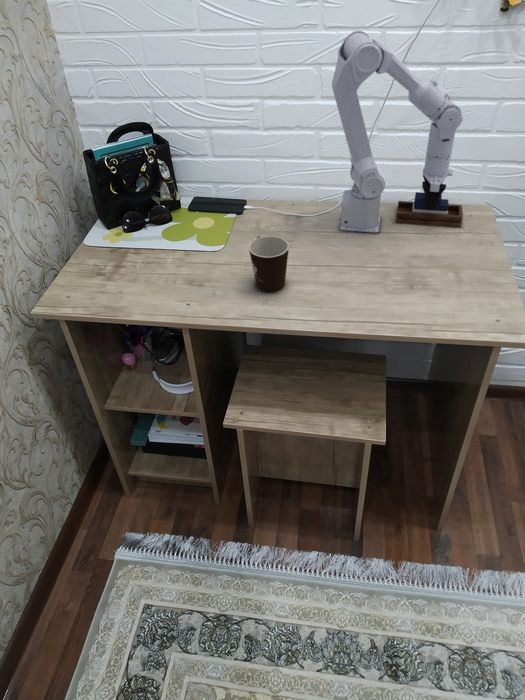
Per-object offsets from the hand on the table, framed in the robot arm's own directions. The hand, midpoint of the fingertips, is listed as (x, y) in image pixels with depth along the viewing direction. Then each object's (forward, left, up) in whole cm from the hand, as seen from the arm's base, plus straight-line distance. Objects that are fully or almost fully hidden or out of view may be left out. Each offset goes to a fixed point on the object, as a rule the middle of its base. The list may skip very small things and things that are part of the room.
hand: (430, 205), depth 145 cm
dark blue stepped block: (0, 0, -1) cm, 1 cm away
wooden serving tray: (0, 0, -3) cm, 3 cm away
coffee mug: (-34, -34, -4) cm, 48 cm away
